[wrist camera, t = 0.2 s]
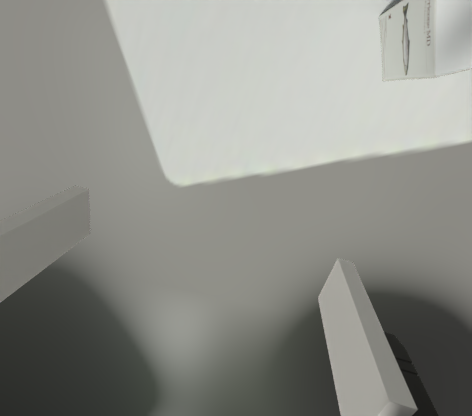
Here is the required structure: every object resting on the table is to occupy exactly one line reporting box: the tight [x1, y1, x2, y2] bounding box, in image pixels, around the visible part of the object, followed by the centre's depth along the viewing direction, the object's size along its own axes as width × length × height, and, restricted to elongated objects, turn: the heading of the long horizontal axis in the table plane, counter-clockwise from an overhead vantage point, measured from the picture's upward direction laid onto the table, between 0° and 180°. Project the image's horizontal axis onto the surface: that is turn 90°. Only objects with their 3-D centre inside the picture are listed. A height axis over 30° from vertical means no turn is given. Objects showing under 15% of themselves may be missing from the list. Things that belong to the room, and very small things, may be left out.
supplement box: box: [379, 0, 472, 81], centre depth 25 cm, size 7×7×13 cm
